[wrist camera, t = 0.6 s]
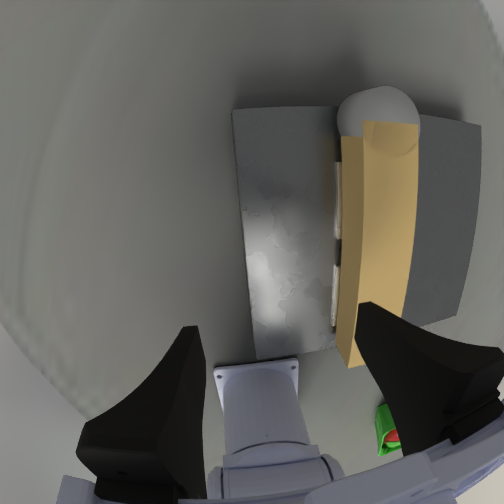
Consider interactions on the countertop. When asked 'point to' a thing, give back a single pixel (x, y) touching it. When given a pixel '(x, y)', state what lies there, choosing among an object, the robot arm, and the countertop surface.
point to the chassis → (330, 222)
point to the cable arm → (376, 205)
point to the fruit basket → (386, 431)
